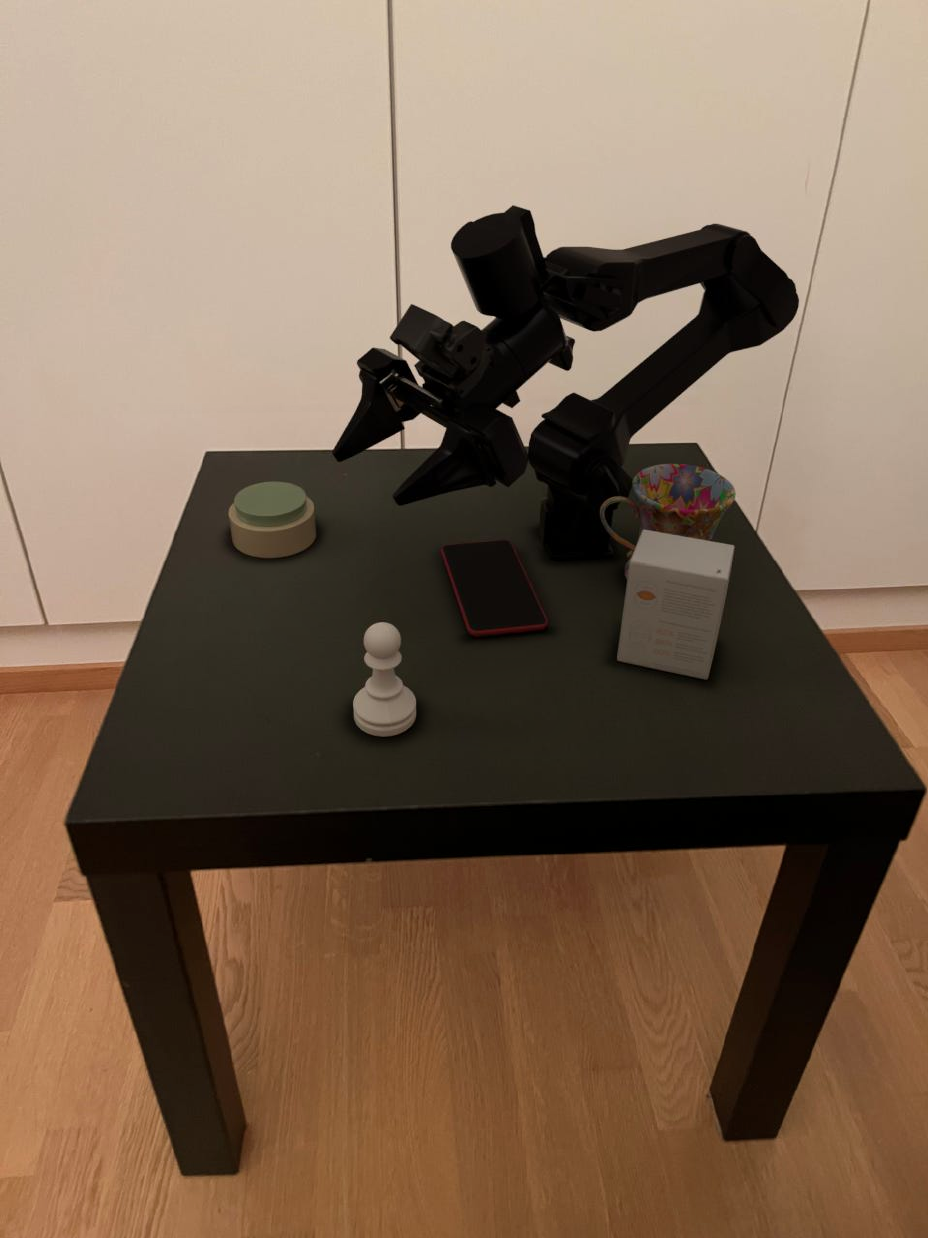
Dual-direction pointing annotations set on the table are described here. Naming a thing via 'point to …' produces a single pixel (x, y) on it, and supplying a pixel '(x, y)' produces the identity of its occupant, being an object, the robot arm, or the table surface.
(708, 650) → the small box
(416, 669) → the table surface
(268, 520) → the push button
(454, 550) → the smartphone
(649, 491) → the mug
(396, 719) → the chess pawn
